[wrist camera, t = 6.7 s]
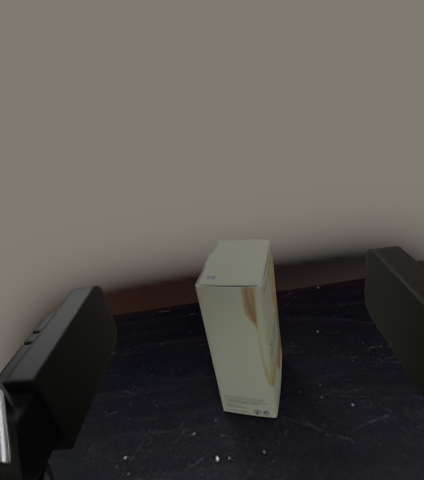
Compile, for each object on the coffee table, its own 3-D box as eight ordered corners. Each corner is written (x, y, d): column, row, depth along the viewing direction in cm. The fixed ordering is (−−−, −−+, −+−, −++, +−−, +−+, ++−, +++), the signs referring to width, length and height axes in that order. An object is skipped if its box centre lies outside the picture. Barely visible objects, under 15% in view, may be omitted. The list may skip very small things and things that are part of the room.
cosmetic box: (278, 421, 24) (263, 289, 18) (222, 413, 25) (191, 288, 19) (283, 353, 29) (272, 235, 24) (236, 349, 30) (216, 237, 25)
